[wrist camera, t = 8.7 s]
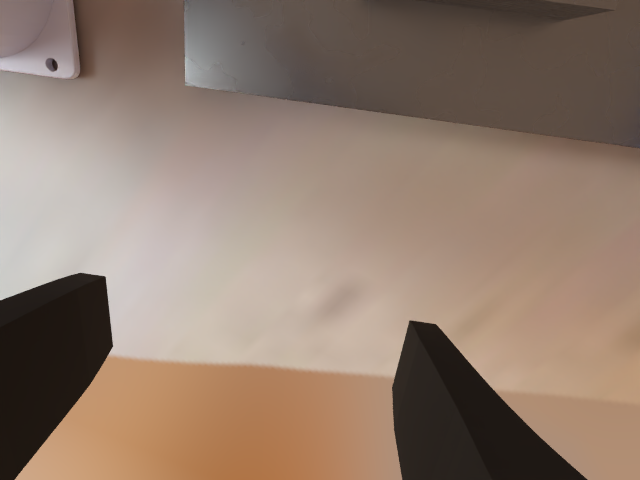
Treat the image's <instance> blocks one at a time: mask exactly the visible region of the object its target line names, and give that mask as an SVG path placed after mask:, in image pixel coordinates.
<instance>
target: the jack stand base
mask: <svg viewBox="0 0 640 480" xmlns="http://www.w3.org/2000/svg"><path fill="white" fill-rule="evenodd" d="M184 36H185V85H186V86H193V87H200V88H207V89H215V90H222V91H229V92H236V93H244V94H251V95H258V96H266V97H273V98H280V99H287V100H295V101H302V102H309V103H316V104H324V105H331V106H338V107H345V108H353V109H360V110H367V111H374V112H382V113H389V114H396V115H403V116H411V117H418V118H425V119H432V120H440V121H447V122H454V123H461V124H469V125H476V126H483V127H490V128H498V129H505V130H512V131H519V132H527V133H534V134H541V135H548V136H556V137H563V138H570V139H577V140H585V141H592V142H599V143H606V144H614V145H621V146H628V147H635V148H640V0H184Z"/></svg>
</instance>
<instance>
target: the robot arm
mask: <svg viewBox="0 0 640 480" xmlns="http://www.w3.org/2000/svg"><path fill="white" fill-rule="evenodd" d="M53 59H54V60H55V61H56V62H57V64H58V69H57V70H55V69H54V68H53V66H52V60H53ZM0 70H3V71H10V72H17V73H25V74H32V75H39V76H46V77H54V78H61V79H75V78H76V77H78V75H79V74H80V61H79V51H78V42H77V33H76V24H75V15H74V6H73V0H0ZM112 347H113V342H112V333H111V324H110V314H109V305H108V296H107V286H106V277H105V276H98V275H91V274H85V273H78V274H74V275H70V276H67V277H64V278H61V279H58V280H55V281H52V282H49V283H46V284H44V285H41V286H38V287H35V288H33V289H30V290H27V291H25V292H22V293H19V294H17V295H14V296H11V297H9V298H6V299H3V300H0V480H15V478H16V477H17V476H18V474H19V473H20V472H21V471H22V469H23V468H24V467H25V466H26V464H27V463H28V462H29V461H30V459H31V458H32V457H33V456H34V454H35V453H36V452H37V451H38V449H39V448H40V447H41V446H42V444H43V443H44V442H45V441H46V440H47V438H48V437H49V436H50V434H51V433H52V432H53V431H54V429H55V428H56V427H57V426H58V425H59V423H60V422H61V421H62V420H63V418H64V417H65V416H66V415H67V413H68V412H69V411H70V409H71V408H72V407H73V405H74V404H75V403H76V402H77V401H78V399H79V398H80V397H81V396H82V394H83V393H84V392H85V390H86V389H87V388H88V386H89V385H90V384H91V382H92V381H93V379H94V377H95V376H96V374H97V372H98V371H99V369H100V368H101V366H102V364H103V363H104V361H105V359H106V358H107V356H108V354H109V352H110V351H111V349H112ZM392 391H393V415H394V431H395V437H396V444H397V450H398V456H399V462H400V467H401V474H402V480H587V479H586V478H585V477H584V476H583V475H581V474H580V473H579V472H578V471H577V470H576V469H575V468H573V467H572V466H571V465H570V464H569V463H568V462H567V461H566V460H565V459H563V458H562V457H561V456H560V455H559V454H558V453H557V452H556V451H554V450H553V449H552V448H551V447H550V446H549V445H548V444H547V443H546V442H545V441H543V440H542V439H541V438H540V437H539V436H538V435H537V434H536V433H535V432H534V431H533V430H532V429H531V428H530V427H529V426H528V425H527V424H526V423H525V422H524V421H523V420H522V419H521V418H520V417H519V416H518V415H517V414H516V413H515V412H514V411H513V410H512V409H511V408H510V407H509V406H508V405H507V404H506V403H505V402H504V401H503V400H502V399H501V397H500V396H499V395H498V394H497V393H496V392H495V391H494V390H493V389H492V388H491V387H490V386H489V385H488V383H487V382H486V381H485V380H484V379H483V378H482V377H481V376H480V374H479V373H478V372H477V371H476V370H475V369H474V368H473V367H472V365H471V364H470V363H469V362H468V361H467V360H466V358H465V357H464V356H463V355H462V354H461V353H460V351H459V350H458V349H457V348H456V347H455V346H454V344H453V343H452V342H451V341H450V340H449V338H448V337H447V336H446V335H445V334H444V333H443V332H442V330H441V329H440V328H439V327H438V326H437V325H436V324H431V323H424V322H417V321H409V325H408V329H407V333H406V337H405V341H404V344H403V348H402V352H401V356H400V360H399V364H398V368H397V371H396V375H395V379H394V383H393V387H392Z"/></svg>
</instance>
